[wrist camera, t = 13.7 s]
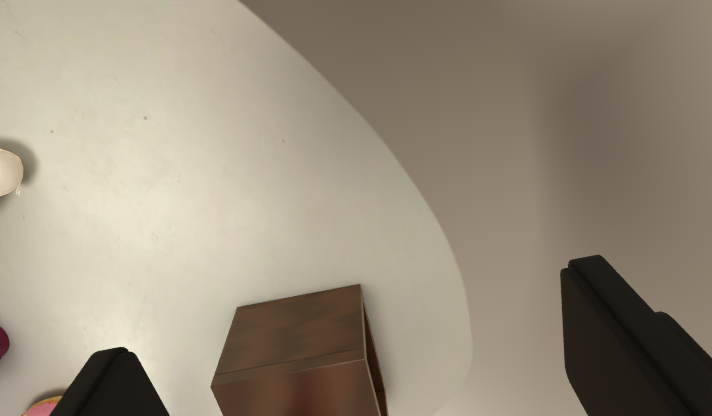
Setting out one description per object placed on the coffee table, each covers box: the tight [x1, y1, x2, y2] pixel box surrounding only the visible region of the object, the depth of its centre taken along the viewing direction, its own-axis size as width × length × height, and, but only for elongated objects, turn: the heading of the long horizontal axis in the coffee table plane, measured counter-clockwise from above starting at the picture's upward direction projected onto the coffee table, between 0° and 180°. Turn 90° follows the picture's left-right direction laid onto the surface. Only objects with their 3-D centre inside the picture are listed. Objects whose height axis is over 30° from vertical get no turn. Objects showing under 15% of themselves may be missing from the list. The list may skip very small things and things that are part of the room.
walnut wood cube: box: [210, 284, 389, 416], centre depth 43 cm, size 12×14×10 cm
